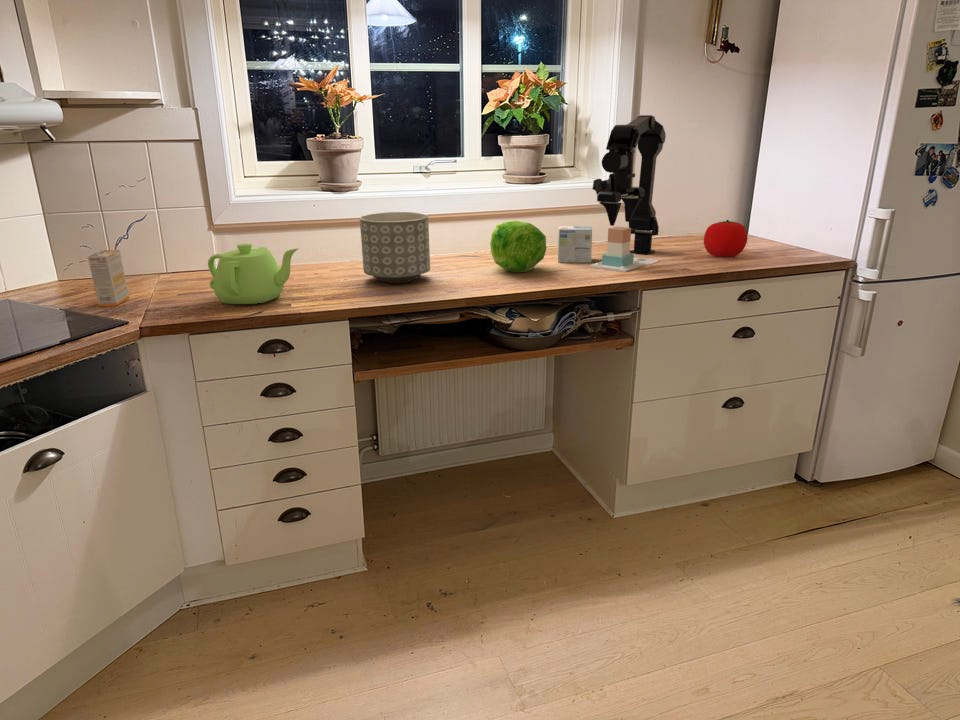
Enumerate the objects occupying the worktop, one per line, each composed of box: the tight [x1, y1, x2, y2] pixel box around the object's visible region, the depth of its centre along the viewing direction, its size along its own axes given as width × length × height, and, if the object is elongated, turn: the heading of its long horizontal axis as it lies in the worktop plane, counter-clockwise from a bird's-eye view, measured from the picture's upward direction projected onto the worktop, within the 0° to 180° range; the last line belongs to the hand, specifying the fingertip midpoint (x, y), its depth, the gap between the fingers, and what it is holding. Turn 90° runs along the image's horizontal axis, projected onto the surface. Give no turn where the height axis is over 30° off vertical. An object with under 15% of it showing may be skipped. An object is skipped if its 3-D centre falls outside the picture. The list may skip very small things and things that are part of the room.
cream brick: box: [606, 240, 631, 257], centre depth 207 cm, size 5×5×4 cm
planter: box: [359, 211, 431, 284], centre depth 193 cm, size 19×19×18 cm
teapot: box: [207, 243, 300, 305], centre depth 176 cm, size 19×20×14 cm
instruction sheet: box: [633, 257, 660, 266], centre depth 216 cm, size 7×10×1 cm
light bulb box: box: [557, 225, 593, 264], centre depth 216 cm, size 11×7×11 cm, turn 84°
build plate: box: [589, 253, 645, 273], centre depth 209 cm, size 12×12×4 cm
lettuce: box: [490, 220, 548, 273], centre depth 204 cm, size 17×20×15 cm
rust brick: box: [607, 226, 632, 244], centre depth 206 cm, size 5×5×4 cm
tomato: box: [703, 219, 748, 258], centre depth 220 cm, size 13×14×12 cm
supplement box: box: [87, 249, 130, 307], centre depth 174 cm, size 8×5×13 cm, turn 5°
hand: (619, 223), depth 205 cm, fingers open, 9 cm apart
